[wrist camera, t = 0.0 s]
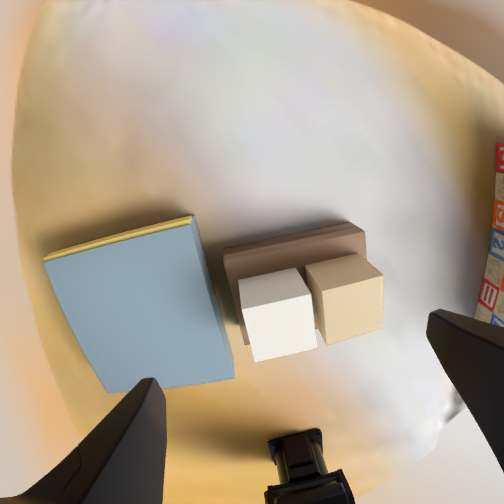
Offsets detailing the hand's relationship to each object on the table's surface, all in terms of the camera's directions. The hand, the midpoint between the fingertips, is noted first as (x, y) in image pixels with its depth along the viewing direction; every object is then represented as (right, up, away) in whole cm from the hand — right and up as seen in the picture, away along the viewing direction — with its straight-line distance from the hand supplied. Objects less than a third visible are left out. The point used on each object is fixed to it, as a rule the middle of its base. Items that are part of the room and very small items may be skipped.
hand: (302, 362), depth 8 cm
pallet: (+2, +1, +16) cm, 16 cm away
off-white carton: (0, 0, +13) cm, 13 cm away
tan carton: (+4, +1, +13) cm, 14 cm away
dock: (-10, -1, +15) cm, 18 cm away
